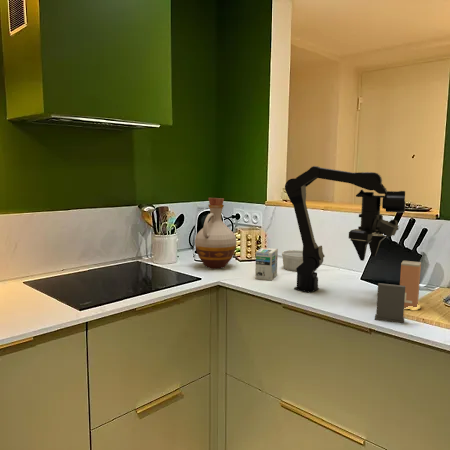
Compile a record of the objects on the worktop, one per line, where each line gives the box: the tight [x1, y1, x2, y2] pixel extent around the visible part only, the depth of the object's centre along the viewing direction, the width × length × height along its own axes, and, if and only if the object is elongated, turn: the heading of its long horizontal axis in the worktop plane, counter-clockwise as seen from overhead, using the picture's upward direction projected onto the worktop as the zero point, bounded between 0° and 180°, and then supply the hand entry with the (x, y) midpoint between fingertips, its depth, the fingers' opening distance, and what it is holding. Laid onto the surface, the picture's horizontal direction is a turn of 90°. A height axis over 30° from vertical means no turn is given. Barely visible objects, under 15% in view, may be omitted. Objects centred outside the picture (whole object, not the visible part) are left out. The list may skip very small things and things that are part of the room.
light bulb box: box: [254, 247, 279, 281], centre depth 164 cm, size 11×7×11 cm, turn 161°
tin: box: [399, 260, 422, 307], centre depth 128 cm, size 5×5×13 cm
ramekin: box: [281, 249, 303, 272], centre depth 179 cm, size 13×13×7 cm
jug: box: [194, 197, 237, 270], centre depth 178 cm, size 20×18×30 cm
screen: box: [374, 282, 405, 325], centre depth 116 cm, size 8×3×10 cm, turn 67°
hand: (368, 258), depth 137 cm, fingers open, 9 cm apart
